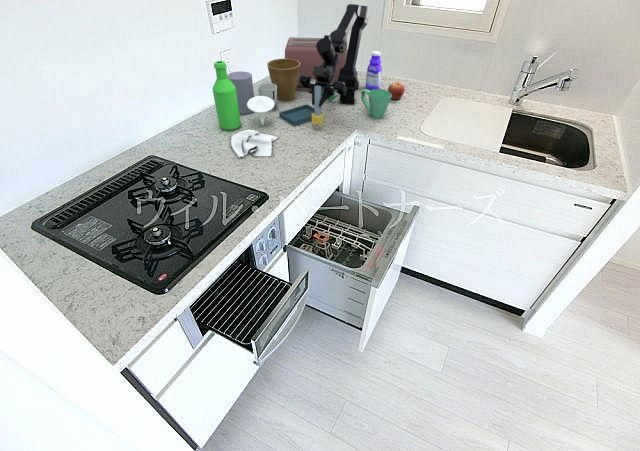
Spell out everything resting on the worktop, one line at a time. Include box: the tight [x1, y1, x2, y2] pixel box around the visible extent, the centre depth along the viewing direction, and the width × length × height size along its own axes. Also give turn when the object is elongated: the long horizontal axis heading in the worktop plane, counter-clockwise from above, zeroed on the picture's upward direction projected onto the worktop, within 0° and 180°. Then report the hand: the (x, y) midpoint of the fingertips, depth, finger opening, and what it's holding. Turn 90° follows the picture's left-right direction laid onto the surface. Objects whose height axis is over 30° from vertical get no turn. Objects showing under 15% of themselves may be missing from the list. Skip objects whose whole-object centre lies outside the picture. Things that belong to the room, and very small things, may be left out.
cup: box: [257, 82, 278, 112], centre depth 150 cm, size 8×8×10 cm
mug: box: [360, 88, 392, 119], centre depth 148 cm, size 15×10×10 cm
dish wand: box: [311, 85, 325, 125], centre depth 132 cm, size 5×5×14 cm
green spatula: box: [308, 89, 339, 102], centre depth 162 cm, size 21×2×5 cm, turn 41°
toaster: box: [284, 36, 348, 93], centre depth 171 cm, size 19×34×20 cm, turn 89°
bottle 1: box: [212, 60, 242, 131], centre depth 131 cm, size 9×9×25 cm
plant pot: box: [266, 58, 300, 102], centre depth 158 cm, size 15×15×16 cm
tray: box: [278, 103, 323, 127], centre depth 147 cm, size 15×11×2 cm
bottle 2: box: [365, 50, 383, 91], centre depth 169 cm, size 7×6×17 cm
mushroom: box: [247, 95, 274, 127], centre depth 137 cm, size 10×11×12 cm
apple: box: [387, 81, 406, 100], centre depth 163 cm, size 8×8×8 cm
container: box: [227, 70, 255, 115], centre depth 147 cm, size 10×10×15 cm
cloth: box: [230, 129, 279, 158], centre depth 127 cm, size 20×22×2 cm
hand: (316, 105), depth 131 cm, fingers closed on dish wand, 2 cm apart
